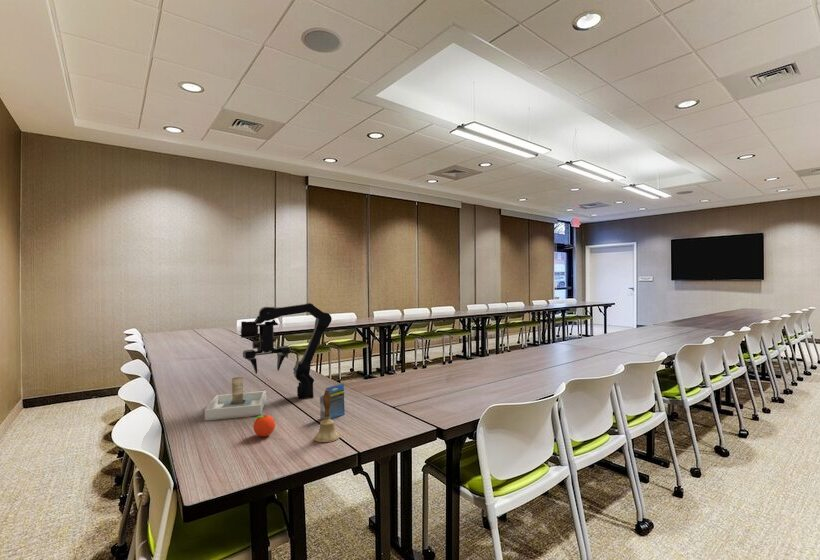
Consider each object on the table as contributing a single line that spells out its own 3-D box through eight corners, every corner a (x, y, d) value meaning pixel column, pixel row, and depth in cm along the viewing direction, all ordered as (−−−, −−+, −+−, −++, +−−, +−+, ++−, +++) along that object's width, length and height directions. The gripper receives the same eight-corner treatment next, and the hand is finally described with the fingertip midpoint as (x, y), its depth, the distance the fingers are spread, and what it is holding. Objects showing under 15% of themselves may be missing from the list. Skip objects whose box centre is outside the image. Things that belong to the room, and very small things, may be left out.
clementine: (249, 441, 129) (248, 420, 129) (251, 433, 136) (250, 413, 136) (274, 438, 131) (274, 417, 131) (275, 430, 138) (275, 410, 138)
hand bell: (329, 431, 137) (328, 385, 137) (345, 436, 132) (344, 389, 131) (309, 438, 130) (308, 390, 130) (325, 445, 125) (324, 395, 125)
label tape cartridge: (338, 412, 156) (338, 381, 156) (345, 414, 153) (344, 382, 153) (320, 418, 149) (319, 386, 149) (326, 421, 146) (325, 388, 146)
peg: (245, 406, 162) (244, 377, 162) (236, 409, 158) (236, 380, 158) (239, 405, 164) (238, 376, 164) (230, 408, 160) (229, 379, 160)
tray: (266, 400, 173) (266, 391, 173) (261, 415, 154) (260, 405, 154) (216, 404, 168) (216, 395, 168) (204, 420, 149) (204, 410, 149)
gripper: (282, 332, 182) (283, 365, 183) (239, 336, 172) (240, 371, 172) (290, 334, 173) (290, 370, 173) (245, 339, 163) (246, 376, 163)
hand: (267, 371), depth 171 cm, fingers open, 9 cm apart
